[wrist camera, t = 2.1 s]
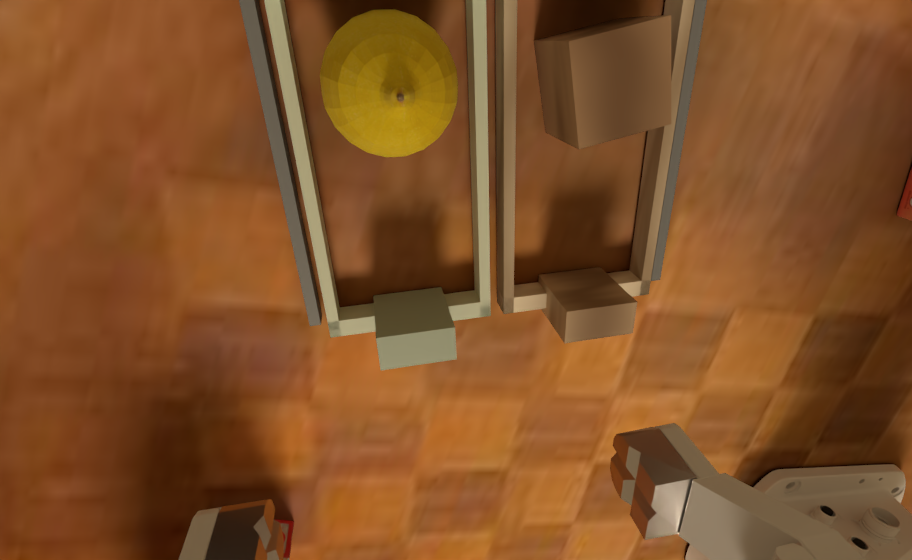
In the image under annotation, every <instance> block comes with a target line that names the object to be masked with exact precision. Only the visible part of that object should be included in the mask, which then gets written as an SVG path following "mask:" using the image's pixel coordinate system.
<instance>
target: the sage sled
mask: <svg viewBox="0 0 912 560" xmlns="http://www.w3.org/2000/svg"><path fill="white" fill-rule="evenodd" d="M264 1H265V6H266V11H267V17H268V22H269V27H270V32H271V37H272V42H273V47H274V52H275V57H276V62H277V67H278V72H279V77H280V83H281V88H282V93H283V98H284V103H285V108H286V113H287V118H288V123H289V128H290V133H291V138H292V143H293V149H294V154H295V159H296V164H297V169H298V174H299V179H300V184H301V189H302V194H303V199H304V204H305V209H306V215H307V220H308V225H309V230H310V235H311V240H312V245H313V250H314V255H315V260H316V265H317V270H318V276H319V281H320V286H321V291H322V296H323V301H324V306H325V311H326V316H327V321H328V326H329V331H330V336H331V337H338V336H345V335H353V334H360V333H367V332H375V331H376V341H377V348H378V355H379V362H380V369H381V370H387V369H394V368H400V367H407V366H414V365H421V364H427V363H434V362H441V361H448V360H454V359H457V356H456V337H455V326H454V323H453V321H456V320H463V319H470V318H478V317H485V316H491V311H490V240H489V169H488V99H487V28H486V0H466V28H467V60H468V93H469V125H470V157H471V190H472V222H473V254H474V286H475V290H472V291H465V292H457V293H449V294H444V293H443V290H442V287H438V288H430V289H422V290H414V291H406V292H398V293H390V294H382V295H374V296H373V298H374V303H371V304H363V305H355V306H347V307H339V301H338V295H337V290H336V284H335V279H334V273H333V268H332V262H331V257H330V251H329V246H328V240H327V235H326V229H325V223H324V218H323V212H322V207H321V201H320V196H319V190H318V185H317V179H316V174H315V168H314V162H313V157H312V151H311V146H310V140H309V135H308V129H307V124H306V118H305V113H304V107H303V102H302V96H301V90H300V85H299V79H298V74H297V68H296V63H295V57H294V52H293V46H292V41H291V35H290V30H289V24H288V18H287V13H286V7H285V2H284V0H264Z"/></svg>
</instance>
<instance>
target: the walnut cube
mask: <svg viewBox="0 0 912 560" xmlns="http://www.w3.org/2000/svg"><path fill="white" fill-rule="evenodd" d="M534 46H535V54H536V62H537V70H538V78H539V86H540V94H541V102H542V109H543V117H544V125H545V132H546V133H548V134H550V135H552V136H554V137H556V138H558V139H560V140H562V141H564V142H566V143H567V144H569V145H571V146H573V147H575V148H577V149H582V148H586V147H589V146H593V145H597V144H600V143H604V142H608V141H611V140H615V139H619V138H622V137H626V136H630V135H633V134H637V133H640V132H644V131H648V130H651V129H655V128H659V127H662V126H666V125H670V124H671V15H663V16H647V17H632V18H619V19H615V20H611V21H608V22H604V23H600V24H596V25H592V26H588V27H584V28H580V29H577V30H573V31H569V32H565V33H561V34H557V35H553V36H549V37H546V38H542V39H538V40H534Z"/></svg>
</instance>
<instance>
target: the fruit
mask: <svg viewBox="0 0 912 560" xmlns="http://www.w3.org/2000/svg"><path fill="white" fill-rule="evenodd" d="M320 81H321V91H322V97H323V102H324V107H325V109H326V111H327V113H328V115H329V117H330V119H331V120H332V122H333V124H334V126H335V127H336V129H337V130H338V131H339V132H340V133H341V134H342V135H343V136H344V137H345V138H346V139H347V140H348V141H349V142H350V143H352V144H354V145H355V146H357V147H359V148H360V149H362V150H364V151H366V152H367V153H371V154H375V155H379V156H384V157H399V156H407V155H410V154H413V153H415V152H418V151H421V150H423V149H425V148H426V147H427V146H429V145H430V144H431V143H433V142H434V141H435V140H436V139H438V138H439V137H440V135H441V134H442V133H443V131H444V130H445V128H446V127H447V126H448V124H449V123H450V121H451V118H452V115H453V113H454V110H455V107H456V104H457V95H458V81H457V70H456V67H455V64H454V62H453V59H452V56H451V54H450V51H449V49H448V47H447V45H446V44H445V43H444V41H443V40H442V39H441V38H440V36H439V35H438V34H437V32H436V31H435V30H434V29H433V28H432V27H431V26H429V25H428V24H426V23H425V22H424V21H422V20H421V19H419V18H418V17H417V16H415V15H411V14H408V13H405V12H402V11H399V10H396V9H379V10H371V11H368V12H366V13H363V14H360V15H358V16H355V17H353V18H351V19H350V20H349V21H348V22H347V23H346V24H344V25H343V26H342V27H341V28H340V29H339V30H337V31H336V33H335V34H334V36H333V38H332V40H331V41H330V43H329V45H328V46H327V48H326V50H325V53H324V57H323V61H322V66H321V70H320Z"/></svg>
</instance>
